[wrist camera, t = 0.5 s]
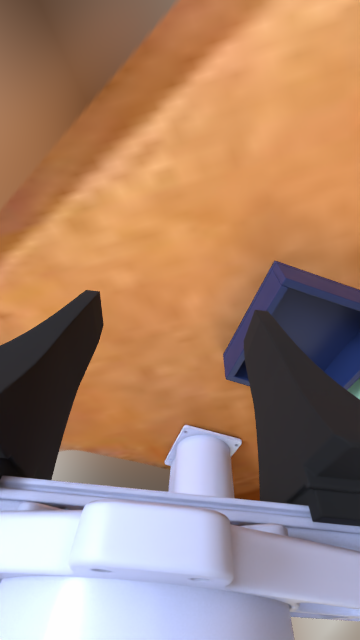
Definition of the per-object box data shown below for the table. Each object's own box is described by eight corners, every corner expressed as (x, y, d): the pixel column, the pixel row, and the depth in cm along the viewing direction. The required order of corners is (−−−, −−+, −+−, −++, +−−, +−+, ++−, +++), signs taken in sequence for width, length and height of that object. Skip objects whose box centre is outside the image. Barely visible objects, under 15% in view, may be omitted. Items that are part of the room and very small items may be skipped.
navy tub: (315, 382, 29) (328, 408, 26) (223, 354, 27) (225, 379, 24) (388, 299, 23) (415, 322, 20) (274, 260, 22) (285, 278, 19)
